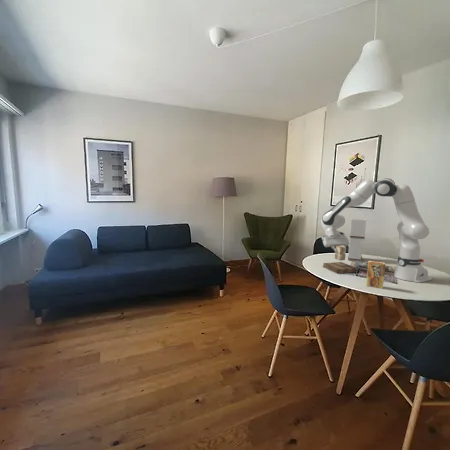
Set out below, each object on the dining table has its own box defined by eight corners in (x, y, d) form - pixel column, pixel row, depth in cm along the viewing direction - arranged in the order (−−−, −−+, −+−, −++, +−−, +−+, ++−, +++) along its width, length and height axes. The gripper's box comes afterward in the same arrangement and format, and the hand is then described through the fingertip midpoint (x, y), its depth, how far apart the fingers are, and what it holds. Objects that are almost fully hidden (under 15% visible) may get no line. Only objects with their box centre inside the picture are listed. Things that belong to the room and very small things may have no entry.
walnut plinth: (341, 265, 201) (341, 261, 201) (356, 272, 186) (356, 268, 185) (323, 266, 197) (323, 263, 197) (336, 273, 182) (337, 269, 182)
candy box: (382, 286, 158) (385, 262, 156) (383, 288, 155) (385, 264, 153) (366, 283, 163) (368, 260, 160) (366, 286, 159) (368, 262, 157)
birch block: (340, 258, 194) (341, 245, 192) (344, 260, 189) (346, 246, 187) (334, 258, 192) (335, 245, 191) (339, 260, 188) (340, 247, 186)
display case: (362, 262, 212) (366, 220, 207) (348, 260, 217) (351, 219, 212) (361, 258, 222) (365, 218, 217) (348, 257, 227) (351, 217, 222)
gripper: (322, 233, 193) (330, 249, 185) (346, 232, 198) (354, 248, 190) (318, 238, 198) (325, 253, 190) (341, 237, 203) (349, 252, 195)
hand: (340, 250), depth 190 cm, fingers closed on birch block, 5 cm apart
